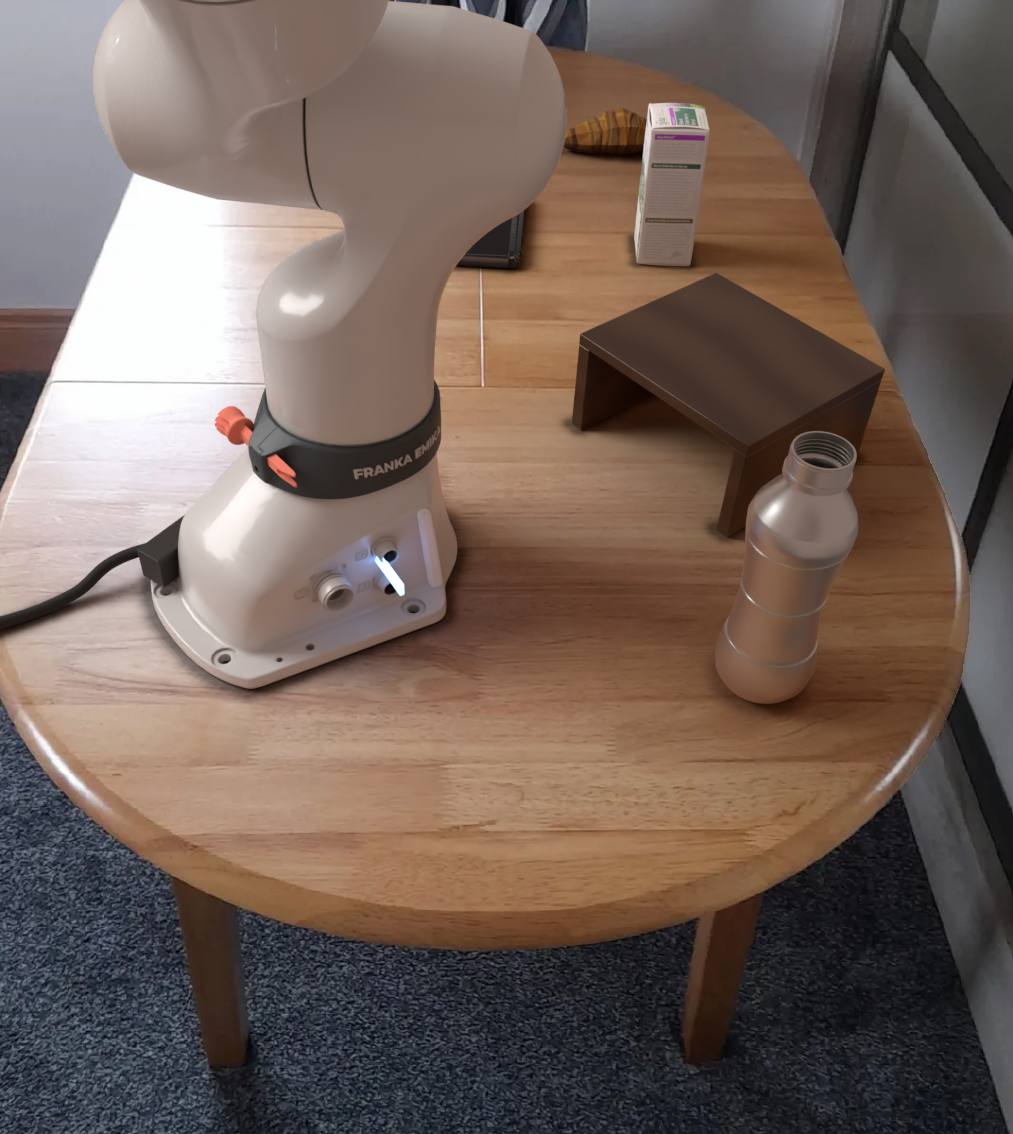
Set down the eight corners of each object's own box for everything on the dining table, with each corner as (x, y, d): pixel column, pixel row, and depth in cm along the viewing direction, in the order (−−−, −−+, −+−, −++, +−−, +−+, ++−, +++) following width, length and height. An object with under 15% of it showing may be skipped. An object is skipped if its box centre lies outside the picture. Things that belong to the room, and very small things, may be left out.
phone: (441, 254, 116) (454, 184, 127) (441, 264, 117) (454, 194, 128) (520, 259, 116) (526, 189, 127) (520, 269, 117) (526, 198, 127)
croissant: (566, 164, 134) (569, 122, 131) (556, 138, 139) (559, 97, 136) (680, 161, 136) (686, 119, 132) (667, 136, 141) (672, 95, 137)
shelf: (727, 537, 90) (749, 446, 83) (571, 423, 99) (579, 333, 93) (857, 458, 97) (885, 368, 91) (700, 359, 107) (716, 272, 101)
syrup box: (691, 267, 119) (714, 128, 108) (633, 265, 119) (651, 125, 108) (686, 239, 123) (708, 103, 113) (630, 237, 123) (647, 100, 112)
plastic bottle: (818, 715, 77) (901, 486, 63) (718, 718, 77) (779, 488, 63) (794, 642, 82) (865, 414, 68) (699, 646, 81) (752, 416, 68)
